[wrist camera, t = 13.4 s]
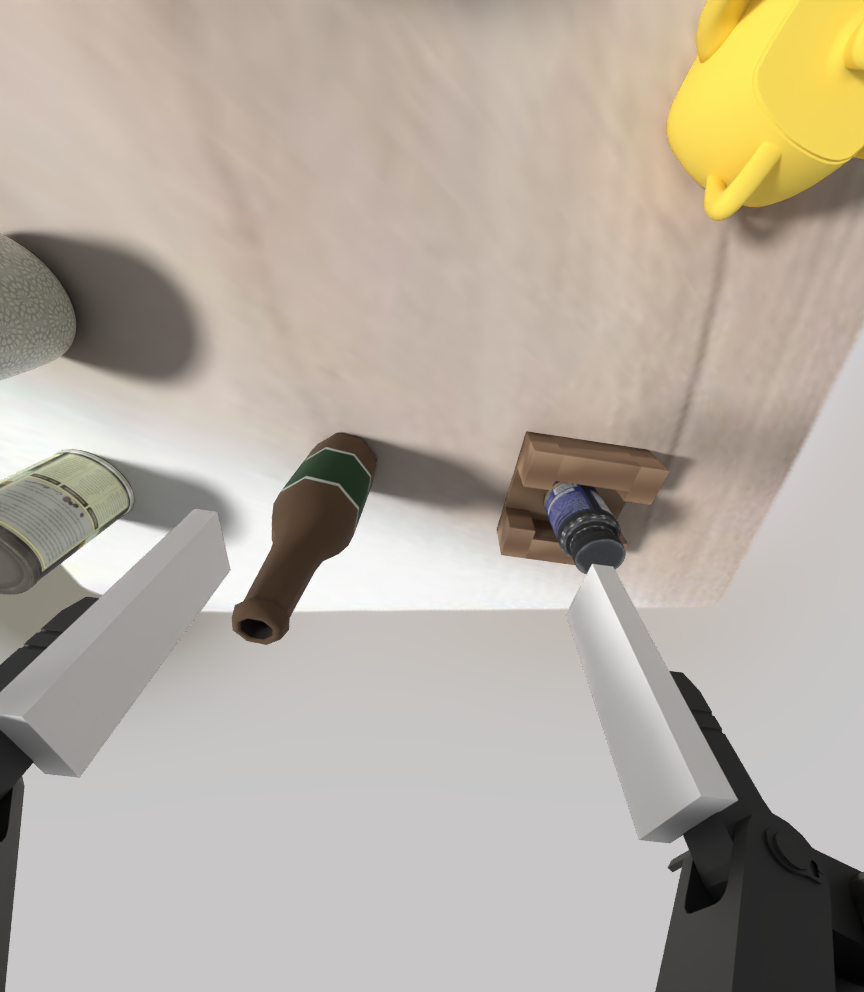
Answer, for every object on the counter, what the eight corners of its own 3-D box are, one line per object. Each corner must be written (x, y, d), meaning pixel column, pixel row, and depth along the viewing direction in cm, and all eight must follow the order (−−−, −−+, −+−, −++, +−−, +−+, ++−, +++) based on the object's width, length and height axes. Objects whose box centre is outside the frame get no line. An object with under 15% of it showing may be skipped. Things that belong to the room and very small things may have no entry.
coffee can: (129, 528, 51) (31, 608, 39) (47, 493, 48) (-85, 567, 36) (141, 475, 46) (33, 549, 34) (51, 433, 43) (-101, 496, 31)
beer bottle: (391, 455, 43) (337, 626, 23) (358, 498, 46) (285, 679, 26) (333, 417, 40) (216, 568, 20) (303, 465, 44) (177, 635, 24)
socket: (526, 431, 40) (534, 450, 36) (647, 449, 41) (670, 471, 37) (496, 529, 48) (501, 554, 44) (599, 543, 48) (613, 570, 44)
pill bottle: (538, 515, 45) (560, 579, 36) (547, 472, 42) (574, 531, 33) (587, 517, 45) (622, 582, 36) (601, 475, 42) (643, 534, 33)
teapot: (635, 242, 31) (707, 233, 22) (640, 16, 24) (745, -122, 16) (820, 186, 28) (983, 151, 20) (883, -82, 22) (1167, -310, 13)
